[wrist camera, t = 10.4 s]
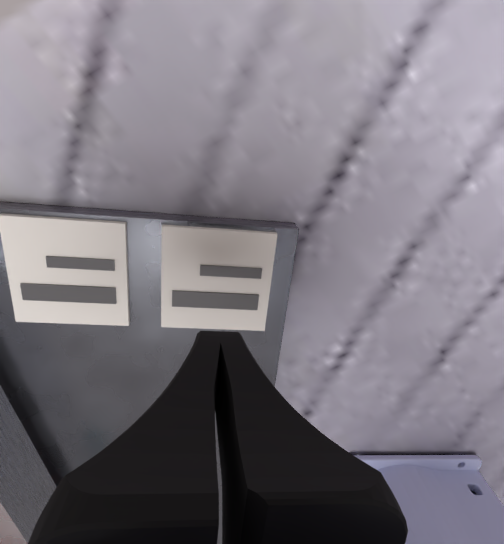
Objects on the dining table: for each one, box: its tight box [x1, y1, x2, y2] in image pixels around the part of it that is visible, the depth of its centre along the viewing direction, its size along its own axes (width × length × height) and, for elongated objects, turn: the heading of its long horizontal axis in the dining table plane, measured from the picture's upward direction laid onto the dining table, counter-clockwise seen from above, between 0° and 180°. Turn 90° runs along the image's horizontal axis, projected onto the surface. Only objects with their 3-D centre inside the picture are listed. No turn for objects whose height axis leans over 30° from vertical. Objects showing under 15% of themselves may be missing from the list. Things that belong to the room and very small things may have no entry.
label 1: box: [0, 213, 130, 326], centre depth 17 cm, size 5×5×1 cm
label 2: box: [161, 224, 277, 331], centre depth 17 cm, size 5×5×1 cm
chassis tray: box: [0, 202, 299, 544], centre depth 21 cm, size 17×24×1 cm
